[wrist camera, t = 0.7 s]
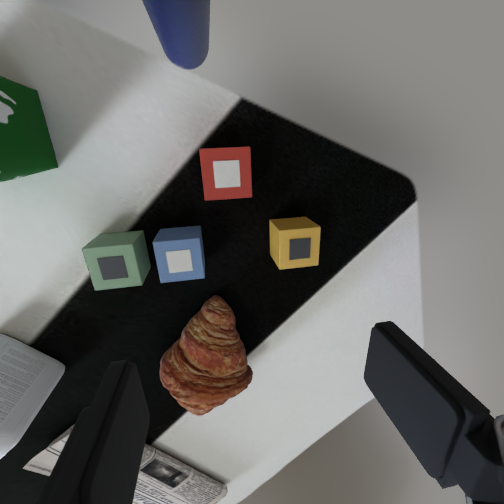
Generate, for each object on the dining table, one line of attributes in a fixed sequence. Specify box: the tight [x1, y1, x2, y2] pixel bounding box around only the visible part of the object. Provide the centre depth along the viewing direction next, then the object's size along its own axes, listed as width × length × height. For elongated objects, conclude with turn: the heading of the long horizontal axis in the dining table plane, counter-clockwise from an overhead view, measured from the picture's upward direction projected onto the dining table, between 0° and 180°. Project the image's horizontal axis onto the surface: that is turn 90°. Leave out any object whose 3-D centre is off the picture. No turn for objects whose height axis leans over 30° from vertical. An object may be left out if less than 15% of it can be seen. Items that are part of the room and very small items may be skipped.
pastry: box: [160, 295, 253, 415], centre depth 36 cm, size 17×15×8 cm
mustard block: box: [270, 217, 321, 270], centre depth 33 cm, size 5×5×5 cm
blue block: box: [153, 226, 205, 283], centre depth 31 cm, size 5×5×5 cm
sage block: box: [82, 230, 151, 290], centre depth 30 cm, size 5×5×5 cm
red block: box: [199, 147, 252, 201], centre depth 28 cm, size 5×5×5 cm
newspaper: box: [23, 424, 227, 504], centre depth 46 cm, size 35×12×4 cm, turn 38°
